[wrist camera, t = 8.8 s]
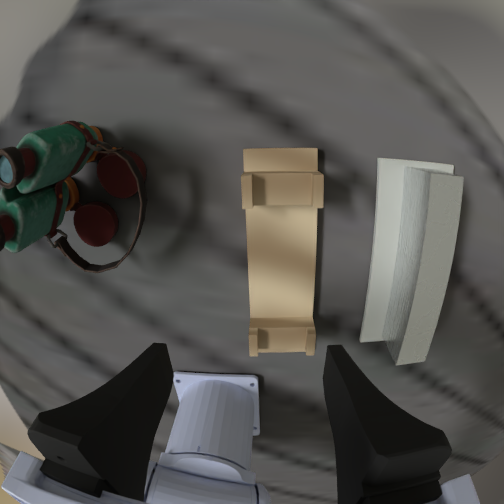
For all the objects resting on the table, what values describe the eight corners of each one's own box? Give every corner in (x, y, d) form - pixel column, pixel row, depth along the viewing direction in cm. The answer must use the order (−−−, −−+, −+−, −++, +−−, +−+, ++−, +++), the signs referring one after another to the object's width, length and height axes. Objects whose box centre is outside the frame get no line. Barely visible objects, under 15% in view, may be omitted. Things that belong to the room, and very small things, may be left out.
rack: (309, 347, 25) (312, 369, 22) (252, 347, 25) (250, 370, 23) (316, 148, 19) (323, 149, 17) (244, 148, 20) (240, 150, 17)
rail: (408, 333, 24) (424, 361, 20) (381, 335, 24) (395, 365, 20) (434, 169, 19) (463, 176, 15) (404, 166, 19) (430, 173, 15)
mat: (422, 333, 24) (424, 335, 24) (359, 339, 25) (360, 342, 24) (451, 164, 19) (453, 165, 19) (377, 157, 19) (379, 158, 19)
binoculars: (75, 344, 14) (-43, 248, 12) (129, 261, 24) (40, 198, 21) (139, 213, 12) (-12, 107, 9) (185, 170, 21) (82, 103, 18)
